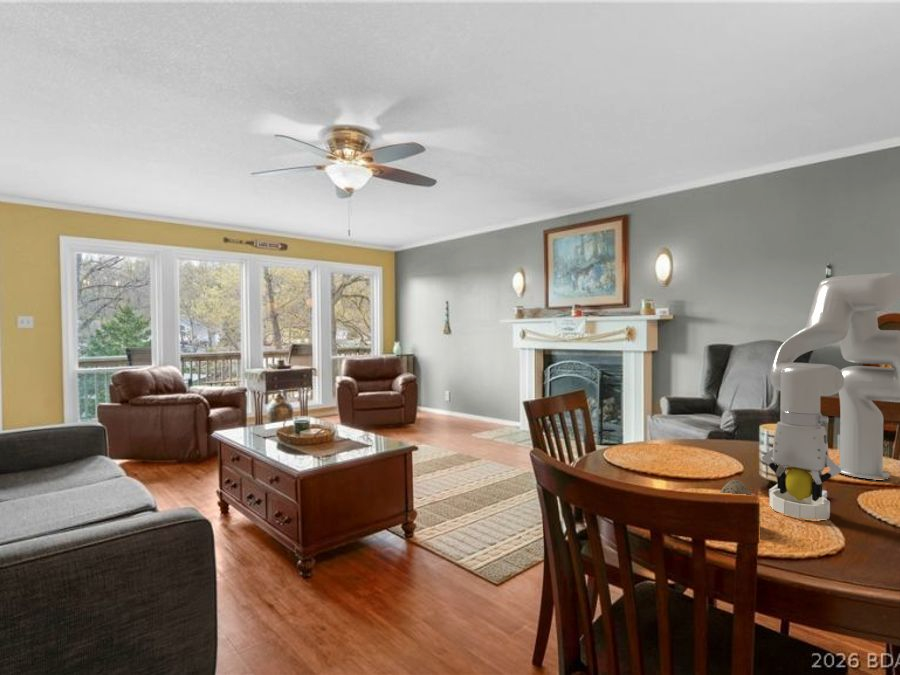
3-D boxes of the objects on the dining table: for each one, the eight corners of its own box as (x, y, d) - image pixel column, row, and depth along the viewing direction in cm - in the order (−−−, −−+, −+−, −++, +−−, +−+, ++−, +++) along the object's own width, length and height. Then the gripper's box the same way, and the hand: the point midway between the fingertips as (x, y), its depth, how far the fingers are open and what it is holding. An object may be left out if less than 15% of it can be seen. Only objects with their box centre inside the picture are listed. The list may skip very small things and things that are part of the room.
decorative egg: (713, 525, 104) (713, 479, 104) (722, 515, 109) (722, 472, 109) (750, 534, 99) (751, 487, 99) (758, 524, 104) (759, 479, 104)
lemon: (819, 505, 108) (819, 470, 108) (791, 504, 109) (792, 469, 109) (806, 497, 113) (806, 463, 113) (780, 495, 115) (780, 462, 114)
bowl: (778, 499, 119) (778, 485, 119) (833, 512, 111) (834, 497, 111) (764, 510, 112) (764, 496, 112) (822, 525, 104) (822, 509, 103)
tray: (780, 487, 128) (780, 481, 128) (827, 496, 121) (827, 491, 121) (768, 495, 122) (768, 489, 122) (817, 506, 114) (817, 500, 114)
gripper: (850, 422, 107) (849, 502, 107) (762, 412, 120) (762, 483, 120) (843, 427, 102) (842, 510, 102) (752, 416, 115) (752, 490, 115)
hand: (799, 495), depth 111 cm, fingers closed on lemon, 5 cm apart
